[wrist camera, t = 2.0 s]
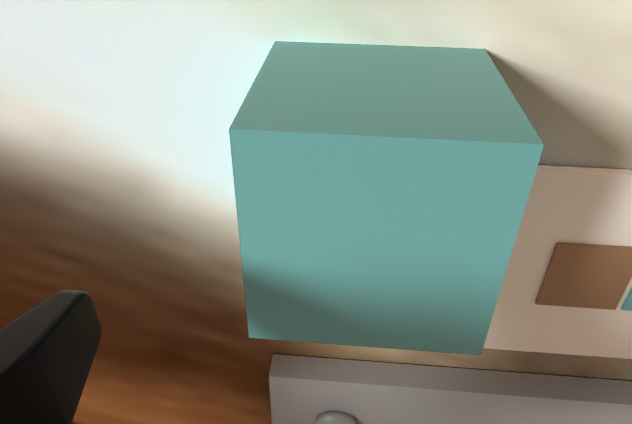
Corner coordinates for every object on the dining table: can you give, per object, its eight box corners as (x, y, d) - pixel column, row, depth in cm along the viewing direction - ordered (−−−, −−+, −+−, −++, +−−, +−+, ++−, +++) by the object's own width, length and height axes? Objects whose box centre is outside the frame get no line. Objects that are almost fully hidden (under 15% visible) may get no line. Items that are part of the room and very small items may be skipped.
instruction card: (442, 338, 18) (443, 347, 17) (482, 162, 14) (485, 169, 13) (744, 360, 17) (751, 370, 17) (879, 181, 13) (893, 190, 13)
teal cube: (281, 209, 15) (248, 337, 11) (275, 40, 12) (229, 129, 8) (450, 219, 15) (480, 355, 11) (484, 47, 12) (543, 144, 8)
